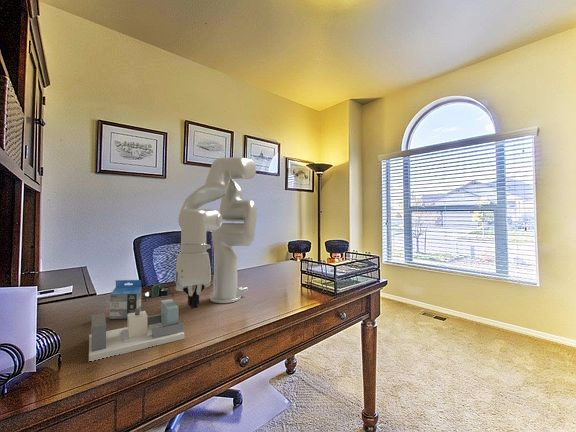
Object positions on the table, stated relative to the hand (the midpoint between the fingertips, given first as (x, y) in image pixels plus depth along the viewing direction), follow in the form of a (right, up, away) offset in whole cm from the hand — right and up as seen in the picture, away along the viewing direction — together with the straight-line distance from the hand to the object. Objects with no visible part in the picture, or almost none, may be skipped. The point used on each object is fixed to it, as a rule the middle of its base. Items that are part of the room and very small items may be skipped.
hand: (193, 307), depth 87 cm
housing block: (-13, -4, -9) cm, 16 cm away
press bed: (-13, -5, -9) cm, 16 cm away
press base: (-13, -6, -9) cm, 17 cm away
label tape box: (-26, -6, +8) cm, 28 cm away
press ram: (-6, -4, -4) cm, 8 cm away
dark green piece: (-26, -6, +35) cm, 44 cm away
